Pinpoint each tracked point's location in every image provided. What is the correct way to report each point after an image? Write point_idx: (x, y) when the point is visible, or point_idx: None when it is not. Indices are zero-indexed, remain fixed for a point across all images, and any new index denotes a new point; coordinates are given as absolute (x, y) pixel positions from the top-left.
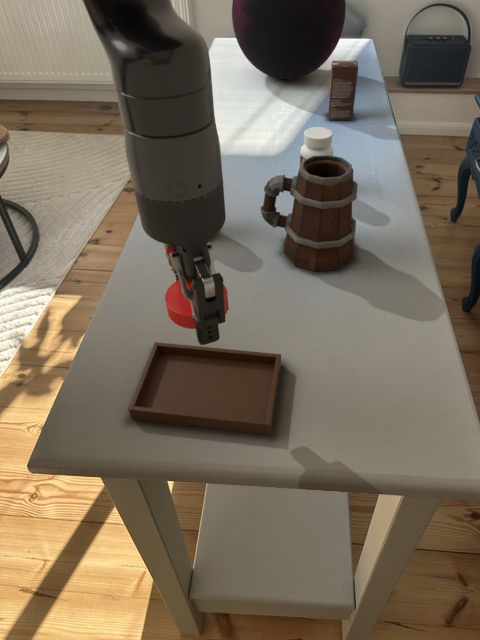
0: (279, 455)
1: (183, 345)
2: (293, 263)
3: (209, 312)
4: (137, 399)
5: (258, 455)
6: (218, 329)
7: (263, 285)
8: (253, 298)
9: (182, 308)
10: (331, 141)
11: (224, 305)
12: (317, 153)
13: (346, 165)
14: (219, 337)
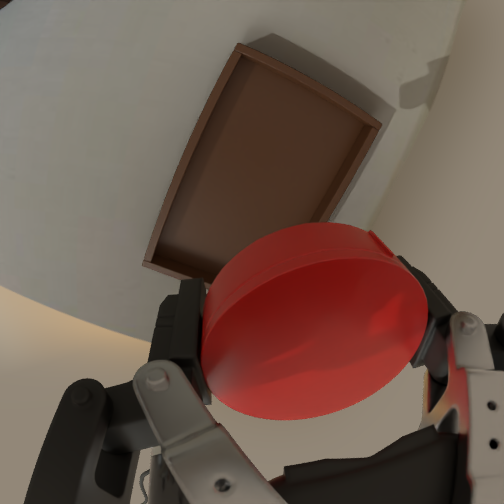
0: (400, 124)
1: (158, 221)
2: (6, 4)
3: (498, 366)
4: None
5: (389, 150)
6: (418, 274)
7: (30, 52)
8: (52, 71)
9: (361, 388)
10: None
11: (408, 270)
12: None
13: None
14: (401, 256)
